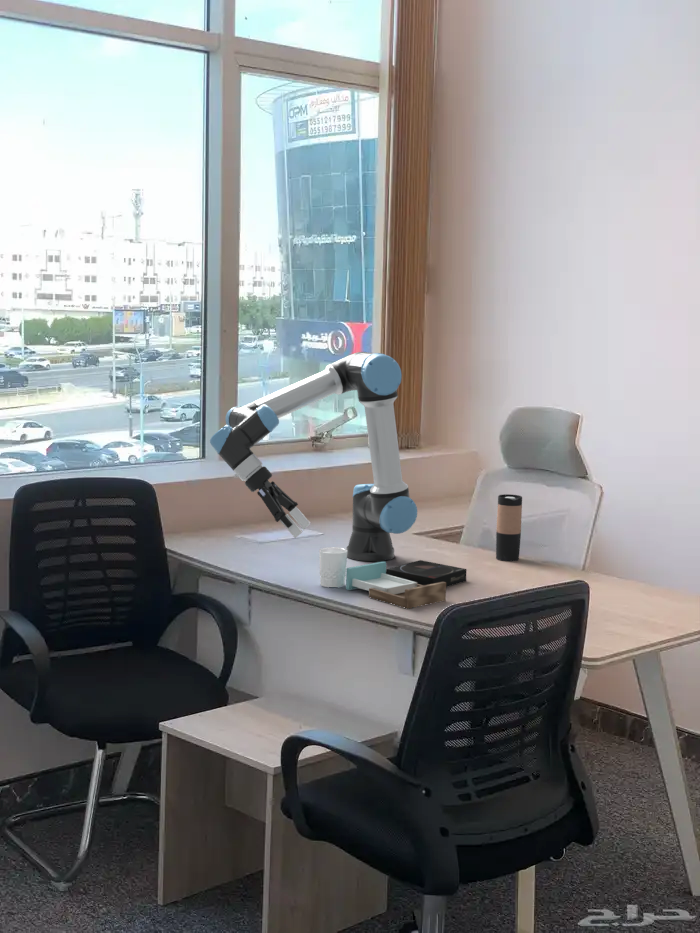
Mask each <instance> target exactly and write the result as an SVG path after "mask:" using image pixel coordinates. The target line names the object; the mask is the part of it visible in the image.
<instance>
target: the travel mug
mask: <svg viewBox="0 0 700 933" xmlns="http://www.w3.org/2000/svg"><path fill="white" fill-rule="evenodd" d="M522 508H523V496H521V495H517V494H507V493H506V494H499V495H498V496H497V512H496V514H497V515H496V529H495V531H496V534H495V536H496V537H495V542H496V543H495V559H496V560H498V561H502V562H517V561H519V560H520V548H521V538H522V537H521V534H522V514H523V510H522Z"/></svg>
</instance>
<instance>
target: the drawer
mask: <svg viewBox="0 0 700 933" xmlns="http://www.w3.org/2000/svg"><path fill="white" fill-rule="evenodd" d="M446 595H447V587H446V582H439V583H434V584H429V585H420V584H417V587H414V588H409V589H405V592H403V593H398V594H391V593H388V592H384V591H381V590H377V589H374V588H369V591H368V598H369V597H371V598H370V599H372V598H374V599H373V600H376V599H378V600H377V601H379V600H381V601H380V602H382V601H385V602H384V603H386V602H388V603H387V604H389V603H392V604H395V605H394V606H396V605H398V606H397V607H399V606H401V607H400V608H403V607H405V608H404V609H406V608H407V609H406V610H409V609H408V608H410V609H413V608H412V607H414V608H418V607H417V606H419V607H422V606H421V605H423V606H426V605H425V604H428V605H431V604H430V603H432V604H436V603H435V602H437V603H440V601H441V602H445V601H446V597H447V596H446ZM392 604H391V605H392Z"/></svg>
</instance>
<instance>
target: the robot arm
mask: <svg viewBox="0 0 700 933" xmlns="http://www.w3.org/2000/svg"><path fill="white" fill-rule="evenodd" d="M401 383H402V369H401V367H400V364H399V363H398V362H397V360H396V359H394V358H393V357H392V356H389V355H388V354H385V353H382V352H381V353H380V352H369V351H357V352H355V353H351V354H349V355H346V356H344V357H343V358H339V360H336V361H334V362H331V363H330V364H328V365H326V366H325V368H324V370H322V371H321V372H318V373H315V374H313V375H311V376H309V377H306V378H304V379H302V380H300V381H297V382H295V383H293V384H290V385H288V386H286V387H283V388H281V389H279V390H277V391H274V392H272V393H271V394H268V395H266V396H264V397H261V398H259V399H257V400H255V401H253V402H249V403H247V404H245V405H243V406H241V405H240V406H233V407H231V408H230V409H229V410H228V411H227V412H226V415H225V425H224V426H223V427H221V428H220V429H218V431H216V432H215V433H214V434H213V435H212V436H211V437H210V440H209V443H210V445H211V446H212V447H213V449H214V450H215V451H216V453H217V455H219V456H220V457H221V459H223V461H224V462H225V463H226V464H227V465H228V467H230V468H231V470H232V471H233V473H235V474H234V476H235V477H238V478H239V479H240V480H241V481H242V482H243V481H244V485H245V486H246V487H247V489H249V490H250V492H251V493H254V492H256V491H257V490H258V491H257V492H256V494H257V495H258V496H259V497H260V499H261V500H262V502H263V503H264V504H265V506H266V507H267V509H268V510H269V512H270V514H271V515H272V517H273V518H274V521H275V522H276V523H278V522H280V523H281V524H282V525H283V526H284V528H286V529H287V531H288V532H289V533H290V534H291V535H292V537H293V538H294V539H296V538H298V537H299V536H300V535H301V534H302V533H303V531H305V530H306V529H307V528H308V527H309V526H310V525H311V524H312V522H311V521H310V520H309V519H308V518H307V517H306V516H305V514H303V512H302V511H301V510H300V509H299V508H298V507H297V506H298V505H299V503H298V502H297V501H295V500H293V498H291V497H290V496H289V495H288V494H287V493H286V492H285V491H284V490H282V489H281V487H279V486H278V485H277V484H276V483H275V481H273V480H272V481H271V482H270V481H269V480H270V479H271V478H272V476H273V474H272V472H270V470H269V469H268V468H267V467H266V466H264V465H263V462H262V461H261V460H260V458H258V456H256V454H255V453H254V452H253V451H252V448H253V447H254V446H255V445H257V444H259V442H260V441H262V440H263V439H264V438H266V436H268V435H269V434H270V433H272V432H273V431H274V430H275V429H276V427H277V426H279V424H280V418H282V417H285V416H287V415H289V414H291V413H294V412H296V411H298V410H300V409H303V408H305V407H307V406H310V405H312V404H314V403H317V402H319V401H320V400H324V399H325V398H328V397H330V396H332V395H335V394H336V395H338V396H339V395H343V394H345V393H348V392H351V391H357V398H358V403H360V404H361V405H362V406H364V414H365V421H366V429H367V437H368V443H369V444H368V446H369V453H370V461H371V469H372V476H373V483H363V484H356V485H355V486H354V487H353V491H352V492H353V493H352V529H351V530H352V531H351V535H350V538H349V541H348V545H347V546H346V548H345V549H346V550H347V559H351V560H356V561H361V562H363V561H364V562H383V561H384V562H385V561H389V560H392V559H394V558H395V548H394V545H393V541H392V537H391V534H403V533H405V532H407V531H409V530H410V529H412V527H413V525H414V524H415V522H416V521H417V517H418V506H417V504H416V503H415V501H414V500H413V499H412V498H411V497H410V489H409V485H408V484H407V483H406V482H405V481H404V480H403V474H402V465H401V458H400V457H401V456H400V448H399V442H398V441H399V440H398V431H397V423H396V417H395V406H394V402H395V401H396V399H398V397H399V396H398V395H399V394H398V389H399V386H400V385H401ZM284 509H285V510H287V511H288V513H287V514H286V512H285V510H284ZM299 526H300V527H299Z"/></svg>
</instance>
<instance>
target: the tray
mask: <svg viewBox="0 0 700 933" xmlns="http://www.w3.org/2000/svg"><path fill="white" fill-rule="evenodd" d="M386 569H387V562H386V561H385V560H384V561H377V562H373V563H367V564H363V565H356V566H351V567H346V576H345V580H346V581H345V590H348V591H353V590H356V589H357V590H358V589H361V590H364V591H368V592H369V588H374V589H377V590H381V591H384V592H388V593H391V594H398V593H403V592H405V589H409V588H414V587H417V582H413V581H410V580H406V579H402V578H399V577H395V576H391V575H388V574H386Z"/></svg>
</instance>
